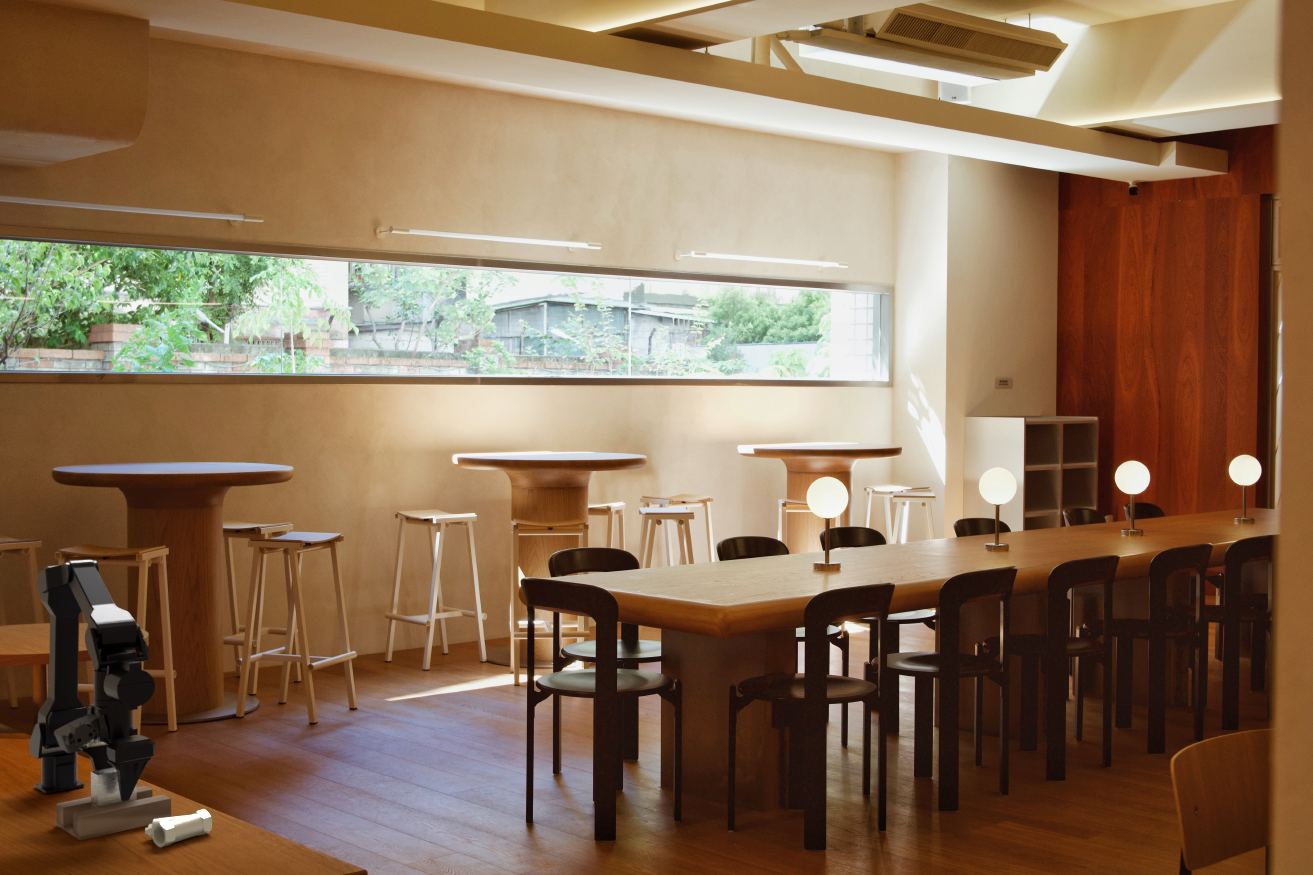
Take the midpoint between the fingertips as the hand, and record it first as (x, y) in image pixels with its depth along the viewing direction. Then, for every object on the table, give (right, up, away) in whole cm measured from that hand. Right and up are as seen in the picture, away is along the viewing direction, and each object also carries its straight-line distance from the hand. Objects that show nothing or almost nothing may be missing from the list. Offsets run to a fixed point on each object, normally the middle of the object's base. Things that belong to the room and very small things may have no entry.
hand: (114, 794), depth 194 cm
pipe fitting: (+13, -5, -8) cm, 16 cm away
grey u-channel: (0, -5, 0) cm, 4 cm away
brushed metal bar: (0, -4, 0) cm, 4 cm away
